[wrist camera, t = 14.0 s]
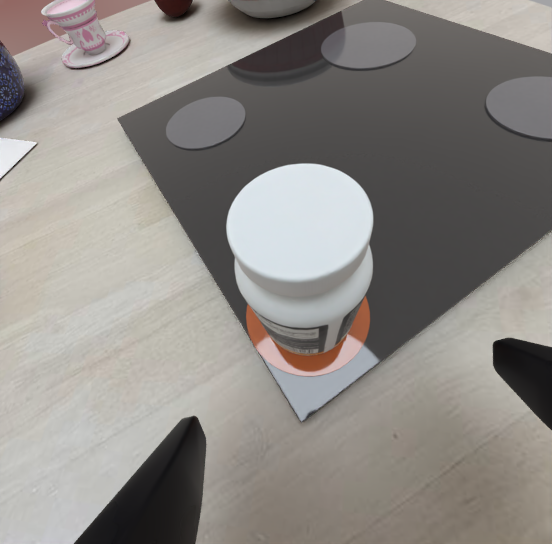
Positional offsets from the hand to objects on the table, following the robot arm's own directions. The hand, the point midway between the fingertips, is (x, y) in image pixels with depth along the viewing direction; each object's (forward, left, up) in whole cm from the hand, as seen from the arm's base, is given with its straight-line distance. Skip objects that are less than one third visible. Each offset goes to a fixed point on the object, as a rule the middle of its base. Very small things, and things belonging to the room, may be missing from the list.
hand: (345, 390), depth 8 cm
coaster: (+45, +18, -9) cm, 49 cm away
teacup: (+65, -1, -10) cm, 66 cm away
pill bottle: (+5, -2, -8) cm, 9 cm away
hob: (+19, -18, -9) cm, 28 cm away
